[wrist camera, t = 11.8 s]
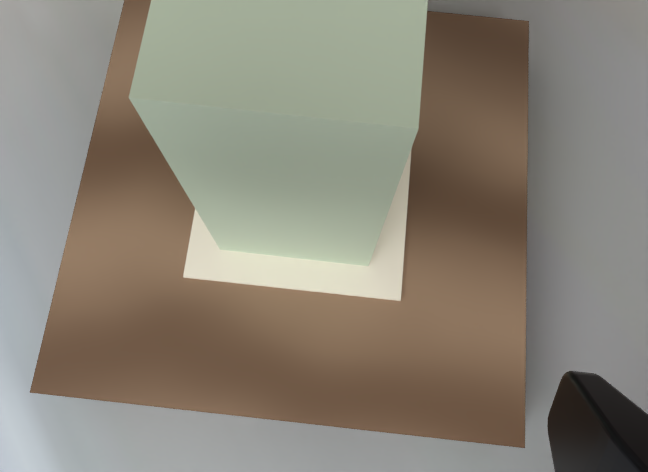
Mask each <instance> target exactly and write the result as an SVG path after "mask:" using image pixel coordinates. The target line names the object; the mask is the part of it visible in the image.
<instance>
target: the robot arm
mask: <svg viewBox="0 0 648 472" xmlns="http://www.w3.org/2000/svg"><path fill="white" fill-rule="evenodd" d="M548 435H549V441H550V446H551V452H552V458H553V464H554V469H555V472H648V414H647V413H645V412H644V411H643V410H642V409H640V408H639V407H638V406H637V405H635V404H634V403H633V402H632V401H630V400H629V399H628V398H627V397H626V396H624V395H623V394H622V393H621V392H619V391H618V390H617V389H616V388H614V387H613V386H612V385H611V384H609V383H608V382H607V381H606V380H604V379H603V378H602V377H600V376H599V375H597V374H594V373H585V372H576V371H569V372H567V373H565V374H564V376H563V377H562V379H561V381H560V384H559V387H558V390H557V393H556V395H555V398H554V401H553V404H552V407H551V409H550V412H549V416H548Z"/></svg>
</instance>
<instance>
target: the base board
mask: <svg viewBox="0 0 648 472" xmlns="http://www.w3.org/2000/svg"><path fill="white" fill-rule="evenodd" d="M150 4H151V0H124V4H123V9H122V13H121V17H120V21H119V25H118V29H117V33H116V38H115V42H114V46H113V50H112V54H111V58H110V62H109V67H108V71H107V75H106V79H105V83H104V87H103V91H102V96H101V100H100V104H99V108H98V112H97V116H96V120H95V125H94V129H93V133H92V137H91V141H90V145H89V149H88V154H87V158H86V162H85V166H84V170H83V174H82V178H81V183H80V187H79V191H78V195H77V199H76V203H75V207H74V212H73V216H72V220H71V224H70V228H69V232H68V236H67V241H66V245H65V249H64V253H63V257H62V261H61V265H60V270H59V274H58V278H57V282H56V286H55V290H54V294H53V299H52V303H51V307H50V311H49V315H48V319H47V323H46V328H45V332H44V336H43V340H42V344H41V348H40V352H39V357H38V361H37V365H36V369H35V373H34V377H33V382H32V386H31V390H30V393H39V394H48V395H57V396H66V397H75V398H84V399H93V400H102V401H111V402H120V403H129V404H137V405H146V406H155V407H164V408H173V409H182V410H191V411H200V412H209V413H218V414H227V415H235V416H244V417H253V418H262V419H271V420H280V421H289V422H298V423H307V424H316V425H325V426H334V427H342V428H351V429H360V430H369V431H378V432H387V433H396V434H405V435H414V436H423V437H432V438H440V439H449V440H458V441H467V442H476V443H485V444H494V445H503V446H512V447H521V448H525V372H526V264H527V156H528V48H529V21H523V20H513V19H502V18H492V17H482V16H472V15H462V14H452V13H442V12H432V11H427V20H426V33H425V47H424V60H423V74H422V88H421V101H420V115H419V129H418V132H417V134H416V137H415V140H414V143H413V145H412V148H411V151H410V154H409V156H408V159H407V162H406V164H405V167H404V170H403V173H402V175H401V178H400V181H399V184H398V186H397V189H396V192H395V195H394V197H393V200H392V203H391V206H390V208H389V211H388V214H387V217H386V219H385V222H384V225H383V228H382V230H381V233H380V236H379V239H378V241H377V244H376V247H375V250H374V252H373V255H372V258H371V261H370V263H369V266H362V265H353V264H344V263H335V262H326V261H317V260H308V259H300V258H291V257H282V256H273V255H264V254H255V253H246V252H237V251H228V250H220V249H219V247H218V245H217V244H216V242H215V240H214V239H213V237H212V235H211V234H210V232H209V230H208V229H207V227H206V225H205V224H204V222H203V220H202V219H201V217H200V216H199V214H198V212H197V211H196V209H195V207H194V206H193V204H192V202H191V201H190V199H189V197H188V196H187V194H186V192H185V191H184V189H183V187H182V186H181V184H180V182H179V181H178V179H177V177H176V176H175V174H174V172H173V171H172V169H171V167H170V166H169V164H168V162H167V161H166V159H165V157H164V156H163V154H162V152H161V151H160V149H159V147H158V146H157V144H156V142H155V141H154V139H153V137H152V136H151V134H150V132H149V131H148V129H147V127H146V126H145V124H144V122H143V121H142V119H141V117H140V116H139V114H138V112H137V111H136V109H135V107H134V106H133V104H132V102H131V101H130V99H129V94H130V90H131V85H132V81H133V77H134V73H135V68H136V64H137V60H138V55H139V51H140V47H141V42H142V38H143V34H144V29H145V25H146V21H147V17H148V12H149V8H150Z"/></svg>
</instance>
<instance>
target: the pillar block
mask: <svg viewBox="0 0 648 472" xmlns="http://www.w3.org/2000/svg"><path fill="white" fill-rule="evenodd" d="M427 6H428V0H151V4H150V8H149V12H148V17H147V21H146V25H145V29H144V34H143V38H142V42H141V47H140V51H139V55H138V60H137V64H136V68H135V73H134V77H133V81H132V85H131V90H130V94H129V99H130V101H131V102H132V104H133V106H134V107H135V109H136V111H137V112H138V114H139V116H140V117H141V119H142V121H143V122H144V124H145V126H146V127H147V129H148V131H149V132H150V134H151V136H152V137H153V139H154V141H155V142H156V144H157V146H158V147H159V149H160V151H161V152H162V154H163V156H164V157H165V159H166V161H167V162H168V164H169V166H170V167H171V169H172V171H173V172H174V174H175V176H176V177H177V179H178V181H179V182H180V184H181V186H182V187H183V189H184V191H185V192H186V194H187V196H188V197H189V199H190V201H191V202H192V204H193V206H194V207H195V209H196V211H197V212H198V214H199V216H200V217H201V219H202V220H203V222H204V224H205V225H206V227H207V229H208V230H209V232H210V234H211V235H212V237H213V239H214V240H215V242H216V244H217V245H218V247H219V249H220V250H228V251H237V252H246V253H255V254H264V255H273V256H282V257H291V258H300V259H308V260H317V261H326V262H335V263H344V264H353V265H362V266H369V263H370V261H371V258H372V255H373V252H374V250H375V247H376V244H377V241H378V239H379V236H380V233H381V230H382V228H383V225H384V222H385V219H386V217H387V214H388V211H389V208H390V206H391V203H392V200H393V197H394V195H395V192H396V189H397V186H398V184H399V181H400V178H401V175H402V173H403V170H404V167H405V164H406V162H407V159H408V156H409V154H410V151H411V148H412V145H413V143H414V140H415V137H416V134H417V132H418V129H419V115H420V101H421V88H422V74H423V60H424V47H425V33H426V20H427Z"/></svg>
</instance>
